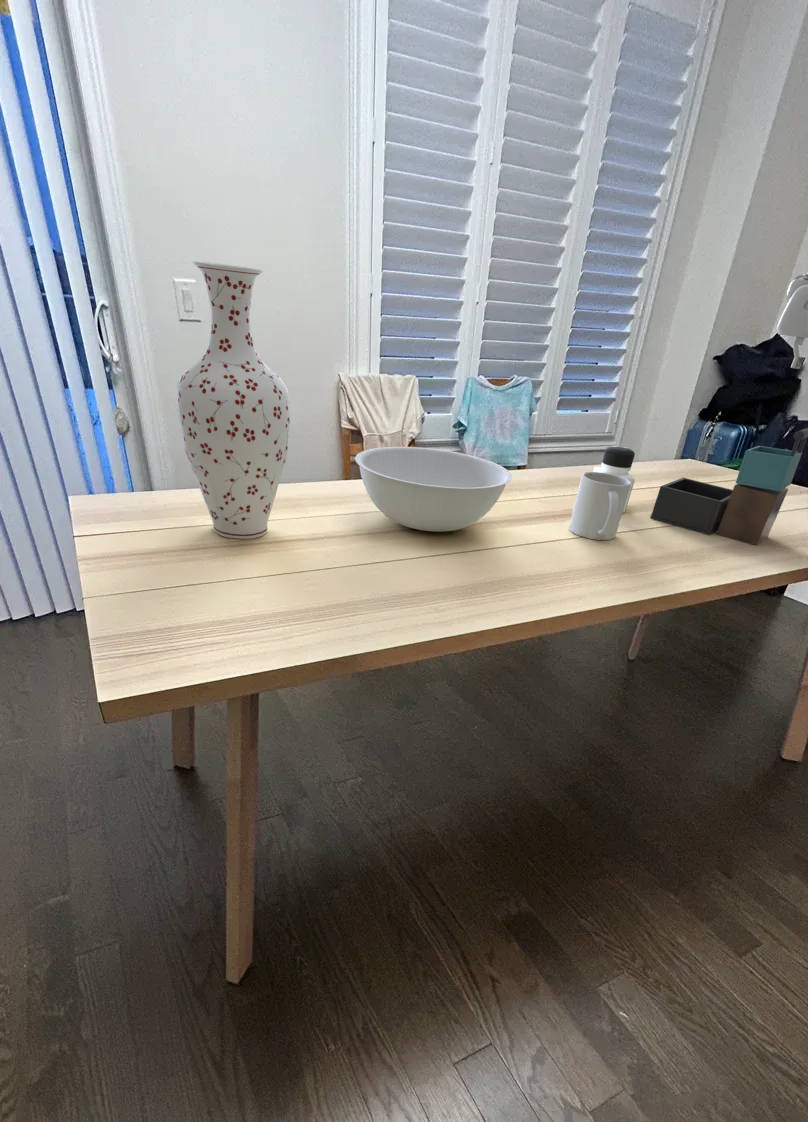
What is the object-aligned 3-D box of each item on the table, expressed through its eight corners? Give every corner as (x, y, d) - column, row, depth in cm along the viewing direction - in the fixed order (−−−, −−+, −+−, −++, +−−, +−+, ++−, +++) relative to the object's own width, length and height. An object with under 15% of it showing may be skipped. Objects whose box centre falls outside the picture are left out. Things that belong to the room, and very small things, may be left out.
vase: (310, 529, 106) (315, 275, 86) (248, 556, 94) (237, 266, 74) (233, 507, 111) (221, 263, 91) (165, 530, 99) (134, 253, 79)
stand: (767, 536, 131) (788, 488, 125) (756, 545, 125) (777, 495, 119) (728, 525, 135) (747, 478, 129) (715, 533, 129) (734, 484, 123)
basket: (729, 523, 136) (741, 492, 133) (709, 535, 127) (722, 502, 124) (672, 507, 142) (683, 477, 139) (650, 518, 133) (660, 486, 130)
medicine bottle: (625, 513, 134) (643, 453, 128) (592, 509, 134) (608, 449, 127) (616, 503, 140) (633, 446, 134) (585, 500, 140) (600, 442, 133)
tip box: (793, 485, 124) (814, 428, 119) (782, 491, 118) (804, 432, 113) (747, 477, 129) (766, 422, 123) (735, 483, 123) (754, 425, 117)
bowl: (323, 508, 116) (324, 450, 110) (436, 495, 131) (442, 443, 125) (414, 559, 99) (421, 494, 94) (532, 538, 114) (544, 481, 108)
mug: (578, 521, 126) (592, 469, 120) (624, 534, 122) (641, 480, 116) (557, 533, 118) (570, 477, 112) (605, 547, 114) (622, 490, 108)
